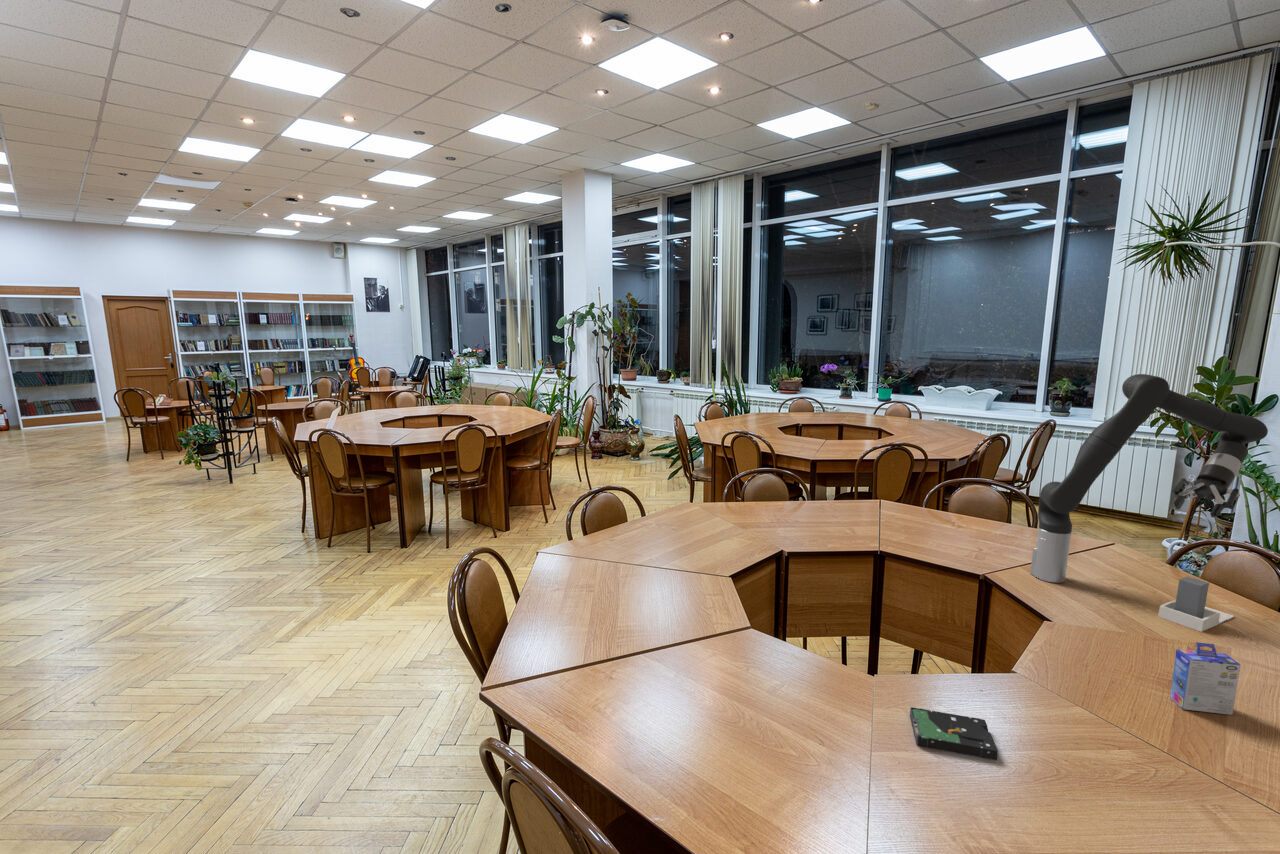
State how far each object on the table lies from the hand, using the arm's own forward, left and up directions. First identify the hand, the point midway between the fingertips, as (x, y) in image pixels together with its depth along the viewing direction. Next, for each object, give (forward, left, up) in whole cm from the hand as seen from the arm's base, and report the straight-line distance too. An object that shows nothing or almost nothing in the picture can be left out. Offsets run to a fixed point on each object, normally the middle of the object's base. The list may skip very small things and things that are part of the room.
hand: (1194, 511), depth 183 cm
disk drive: (+9, -119, -31) cm, 123 cm away
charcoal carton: (+6, -9, -30) cm, 32 cm away
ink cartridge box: (+27, -58, -31) cm, 71 cm away
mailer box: (+6, -4, -31) cm, 31 cm away
